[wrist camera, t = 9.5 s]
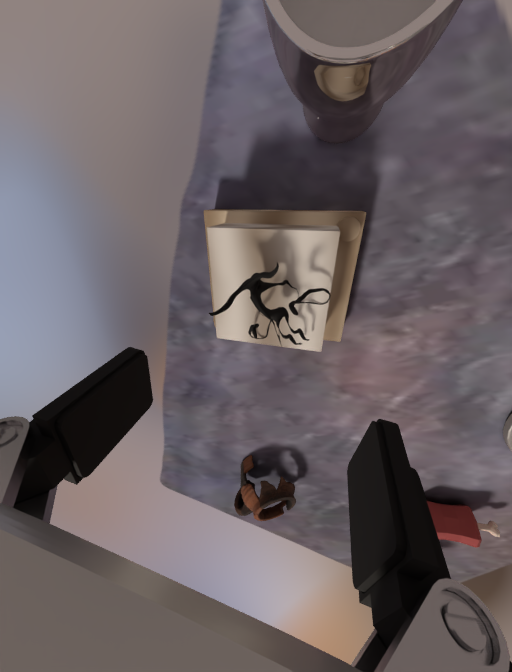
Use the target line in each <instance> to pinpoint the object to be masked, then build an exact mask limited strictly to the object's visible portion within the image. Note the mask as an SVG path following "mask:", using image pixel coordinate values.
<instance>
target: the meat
mask: <svg viewBox="0 0 512 672" xmlns="http://www.w3.org/2000/svg"><path fill="white" fill-rule="evenodd" d="M427 503H428V507H429V510H430V513H431V516H432V519H433V523H434V526H435V529H436V532H437V536H438V539H443V540H451V541H456V542H461V543H464V544H467V545H470V546H473V547H479V546H480V543H481V536H480V532H479V530H483V531H489V532H490V533H491V534H492V535H494V536H496V537H500V531H499V530H498V529H497V524H496V523H495V522H493V521H489V522H488V524H481V523H477V521H476V519H475V517H474V515H473V513H472V510H471V508H470V507H468V506H466V505H462V504H457V505H447V504H440V503H434V502H430V501H427Z"/></svg>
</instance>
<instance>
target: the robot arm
mask: <svg viewBox="0 0 512 672" xmlns="http://www.w3.org/2000/svg"><path fill="white" fill-rule="evenodd" d="M152 402H153V397H152V389H151V382H150V374H149V367H148V359H147V356H146V355H145V353H144V351H142V350H138V349H135V348H132V347H128V348H127V349H125V350H124V351H122V352H121V353H119V354H118V355H117V356H115V357H114V358H113V359H111V360H110V361H108V362H107V363H105V364H104V365H103V366H101V367H100V368H98V369H97V370H96V371H94V372H93V373H91V374H90V375H89V376H87V377H86V378H84V379H83V380H82V381H80V382H79V383H77V384H76V385H75V386H73V387H72V388H70V389H69V390H68V391H66V392H65V393H63V394H62V395H61V396H59V397H58V398H56V399H55V400H54V401H52V402H51V403H49V404H48V405H47V406H45V407H44V408H42V409H41V410H40V411H38V412H37V413H35V414H34V415H33V418H34V419H33V420H32V421H31V422H28V420H27V419H25V418H23V417H16V416H15V417H7V418H3V419H0V672H512V663H511V661H510V656H509V651H508V647H507V643H506V640H505V638H504V635H503V633H502V631H501V629H500V626H499V624H498V623H497V621H496V620H495V618H494V617H493V615H492V613H491V612H490V610H489V609H488V608H487V607H486V606H485V604H484V603H483V602H482V601H481V600H480V598H479V597H478V596H476V595H475V594H474V593H473V592H472V591H471V590H470V589H468V588H467V587H466V586H464V585H462V584H461V583H459V582H457V581H455V580H451V578H450V574H449V571H448V568H447V565H446V561H445V558H444V555H443V552H442V549H441V545H440V542H439V539H438V536H437V532H436V529H435V526H434V523H433V519H432V516H431V513H430V510H429V507H428V503H427V500H426V497H425V494H424V490H423V487H422V484H421V481H420V478H419V475H418V473H417V471H416V470H415V469H413V468H411V467H410V464H409V461H408V457H407V454H406V450H405V447H404V443H403V440H402V436H401V433H400V429H399V426H398V425H397V424H396V423H393V422H389V421H386V420H382V419H378V420H377V422H375V421H372V422H371V424H370V426H369V428H368V429H367V431H366V433H365V435H364V437H363V439H362V440H361V442H360V444H359V446H358V448H357V450H356V451H355V453H354V455H353V457H352V459H351V460H350V462H349V465H348V470H347V475H348V496H349V516H350V536H351V556H352V576H353V584H354V587H355V589H357V590H359V601H360V603H362V604H364V605H366V606H369V607H371V608H372V618H373V626H374V627H375V629H374V631H373V632H372V634H371V635H370V637H369V638H368V640H367V641H366V643H365V644H364V646H363V647H362V649H361V650H360V652H359V653H358V655H357V656H356V658H355V659H354V661H353V662H352V664H351V665H349V664H348V663H346V662H344V661H342V660H340V659H338V658H336V657H333V656H332V655H330V654H328V653H326V652H323V651H322V650H319V649H318V648H316V647H313V646H311V645H309V644H307V643H305V642H303V641H301V640H299V639H297V638H295V637H293V636H291V635H289V634H287V633H285V632H283V631H281V630H279V629H277V628H274V627H272V626H270V625H268V624H266V623H263V622H262V621H259V620H257V619H255V618H253V617H251V616H249V615H247V614H244V613H242V612H240V611H238V610H236V609H234V608H231V607H229V606H227V605H225V604H223V603H221V602H219V601H217V600H214V599H212V598H210V597H208V596H206V595H204V594H202V593H199V592H197V591H195V590H193V589H191V588H188V587H186V586H184V585H182V584H180V583H178V582H175V581H173V580H171V579H169V578H167V577H165V576H162V575H160V574H158V573H156V572H154V571H152V570H150V569H147V568H145V567H143V566H141V565H139V564H136V563H134V562H132V561H130V560H128V559H126V558H124V557H121V556H119V555H117V554H115V553H113V552H110V551H108V550H106V549H104V548H102V547H99V546H97V545H95V544H93V543H91V542H89V541H86V540H84V539H82V538H80V537H77V536H75V535H73V534H71V533H69V532H66V531H64V530H62V529H60V528H58V527H55V526H53V525H51V524H49V523H50V518H51V514H52V509H53V504H54V499H55V495H56V490H57V485H58V484H59V483H60V482H61V481H62V480H63V479H65V480H67V481H69V482H71V483H74V484H76V485H77V484H78V483H79V481H81V480H82V479H83V478H85V477H87V476H89V475H90V474H91V473H92V472H93V471H94V469H95V468H96V467H97V466H98V465H99V464H100V463H101V462H102V461H103V459H104V458H105V457H106V456H107V455H108V454H109V453H110V451H111V450H112V449H113V448H114V447H115V446H116V445H117V444H118V443H119V442H120V440H121V439H122V438H123V437H124V436H125V435H126V434H127V432H128V431H129V430H130V429H131V428H132V427H133V426H134V424H135V423H136V422H137V421H138V420H139V419H140V418H141V416H143V414H144V413H145V412H146V411H147V410H148V409H149V408H150V406H151V405H152ZM503 437H504V440H505V443H506V444H507V446H508V447H509V449H510V450H511V452H512V414H511V415H510V416H509V418H508V419H507V421H506V423H505V425H504V428H503Z"/></svg>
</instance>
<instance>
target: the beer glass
mask: <svg viewBox="0 0 512 672" xmlns="http://www.w3.org/2000/svg"><path fill="white" fill-rule="evenodd" d="M262 1H263V6H264V10H265V15H266V20H267V24H268V29H269V33H270V37H271V40H272V44H273V47H274V50H275V54H276V57H277V60H278V63H279V66H280V68H281V70H282V72H283V75H284V77H285V79H286V81H287V83H288V85H289V87H290V89H291V91H292V92H293V94H294V95H295V97H296V98H297V99H298V100H299V101H300V102H301V104H302V105H303V112H304V116H305V119H306V122H307V124H308V126H309V128H310V130H311V131H312V132H313V133H314V135H315V136H316V137H318V138H319V139H321V140H323V141H325V142H328V143H334V144H339V143H345V142H348V141H351V140H353V139H355V138H356V137H358V136H360V135H361V134H362V133H363V132H365V131H366V130H367V129H368V128H369V127H370V126H371V124H372V123H373V122H374V121H375V119H376V118H377V116H378V115H379V113H380V111H381V109H382V107H383V105H384V103H385V102H386V101H387V100H388V99H390V98H391V97H392V96H393V95H394V94H395V93H397V92H398V91H399V90H400V89H401V88H402V87H403V86H404V85H405V84H406V82H407V81H408V80H409V79H410V78H411V77H412V75H413V74H414V73H415V72H416V70H417V69H418V68H419V67H420V65H421V64H422V63H423V62H424V60H425V59H426V58H427V56H428V55H429V54H430V52H431V51H432V50H433V48H434V47H435V45H436V44H437V42H438V40H439V39H440V37H441V36H442V34H443V33H444V31H445V30H446V28H447V26H448V25H449V23H450V22H451V20H452V19H453V17H454V15H455V14H456V12H457V10H458V8H459V7H460V5H461V3H462V1H463V0H262Z"/></svg>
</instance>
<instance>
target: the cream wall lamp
mask: <svg viewBox="0 0 512 672" xmlns="http://www.w3.org/2000/svg"><path fill="white" fill-rule="evenodd" d="M365 217H366V212H364V211H323V210H241V209H212V210H204V219H205V229H206V240H207V250H208V261H209V272H210V282H211V293H212V303H213V312H215V311H217V310H219V309H220V308H221V307H222V306H223V305H224V304H225V303H226V302H227V300H228V299H229V297H230V296H231V295H232V294H233V293H234V292H235V291H236V290H237V289H238V288H239V287H240V286H241V285H242V283H243V282H244V281H245V280H247V279H249V278H251V276H252V275H253V274H254V273H261V272H271V271H273V270H274V269H275V268H276V266H277V263H278V264H279V269H278V271H277V273H276V274H275V275H274V277H272V278H269V279H267V278H261V279H260V280H262V281H263V282H269V283H281V282H283V281H284V280H288V282H289V283H290V285H291V286H292V287H294V288H296V289H297V290H298V292H297V290H296V289H294V288H291V287H290V286H289V285H288V284H285V285H284V286H281V285H277V286H274V287H271V288H269V289H267V290H266V291H264V292H262V293H261V299H262V302H263V304H264V305H265V306H266V308H268V309H270V310H272V309H276V308H278V307H284V308H286V309H287V311H288V313H289V325H290V327H291V328H292V329H293V330H294V331H295V330H297V329H299V328H300V329H301V330H302V331H303V333H304V336H305V338H306V339H309V341H306V340H303V339H302V338H301V336H300V335H299V333H297V334H293V333H292V332H291V330H290V328H289V326H288V323H287V321H286V319H285V317H283V318H282V319H281V321H280V324H279V328H278V327H277V325H276V322H275V321H274V320H273V321H274V323H275V327H274V324H273V323H272V321H271V323H270V326H269V331H268V336H267V337H266V338H263V337H265V336H266V334H267V328H268V325H269V322H270V320H269V319H268V318H267V317H265V316H263V314H262V313H261V312H260V313H261V314H262V315H261V314H260V313H259V310H258V309H257V308H256V307H255V305H254V304H253V302H252V301H251V299H250V296H251V294H250V290H248V289H246V290H244V291H242V292H241V293H239V294H238V295H237V296H236V298H235V299H234V301H233V303H232V305H231V306H230V307H229V308H228V309H227V310H226V311H224V312H222V313H220V314H218V315H215V316H214V319H213V320H214V324H215V327H216V332H217V338H221V339H229V340H236V341H244V342H251V343H259V344H266V345H274V346H281V345H282V346H281V347H289V348H296V349H304V350H311V351H319V352H321V349H322V343H323V340H330V341H338V342H340V341H341V336H342V331H343V326H344V321H345V316H346V311H347V306H348V301H349V296H350V291H351V286H352V281H353V276H354V271H355V266H356V262H357V257H358V252H359V247H360V242H361V237H362V232H363V227H364V222H365ZM316 288H324V289H327V290H328V291H329V292H330V295H331V296H330V299H329V294H328V293H326V292H325V291H319V292H314V293H310V294H309V295H307V296H306V298H305V299H304V300H302V301H301V302H314V303H318V304H323V305H318V304H311V303H300V304H295V305H294V307H295V308H296V310H297V312H298V315H297V316H296V315H294V314H293V313H292V312H291V310H290V309H289V303H290V302H292V301H295V300H297V299H298V298H299V297H300V296H301V295H302V294H303V293H304V292H306V291H307V290H309V289H316ZM298 293H299V297H298ZM328 299H329V301H328ZM327 301H328V302H327ZM326 302H327V303H326ZM324 303H326V304H324ZM257 323H258V324H259V327H258V328H256V332H257V338H263V339H255V337H254V336H253V334H252V332H251V336H253V337H254V338H252V337H251V336H250V335H249V333H248V331H249V328H250V326H251V325H253V324H257ZM275 328H276V330H275ZM279 329H280V331H281V333H282V334H283V335H288V334H291V335H292V336H293V338H294V340H295V341H296V343H302V344H301V345H295V344H293V343H292V342H291V341H290V340H289V338H288V339H284V338H283V337H282V336H281V333H280V331H279ZM276 331H277V333H276ZM277 334H278V335H280V341H281V344H280V341H279V339H278V336H277Z"/></svg>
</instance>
